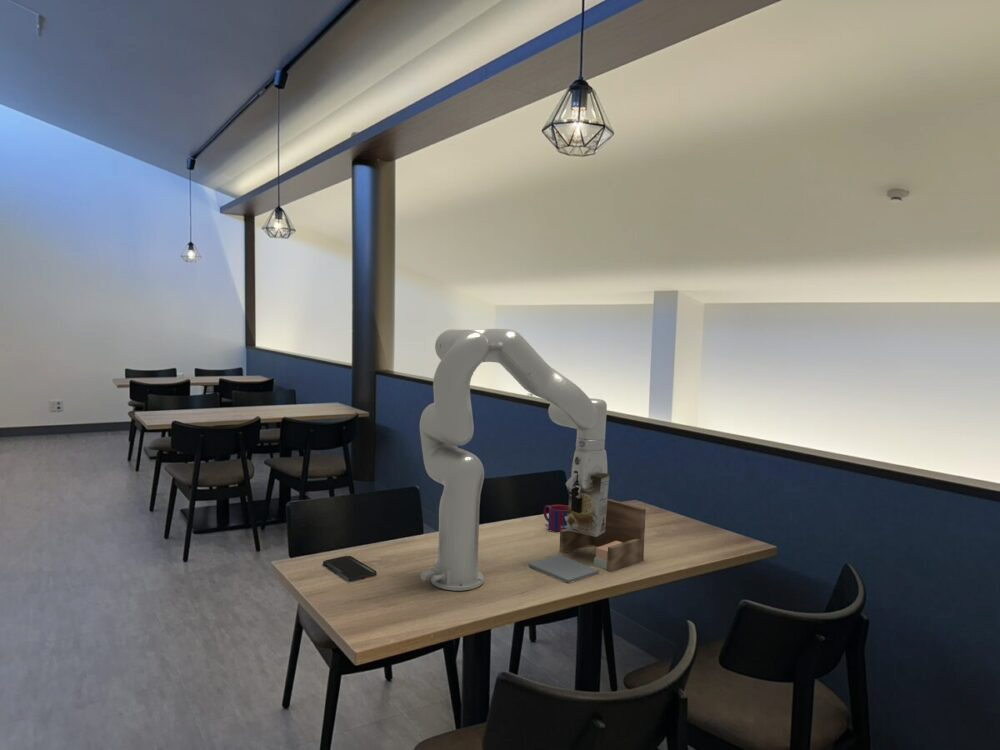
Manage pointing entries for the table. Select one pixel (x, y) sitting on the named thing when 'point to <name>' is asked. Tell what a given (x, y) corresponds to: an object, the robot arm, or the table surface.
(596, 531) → the coffee box
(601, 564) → the offcut lower
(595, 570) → the mat
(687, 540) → the table surface
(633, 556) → the rack
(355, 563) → the phone
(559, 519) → the mug
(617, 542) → the offcut upper
